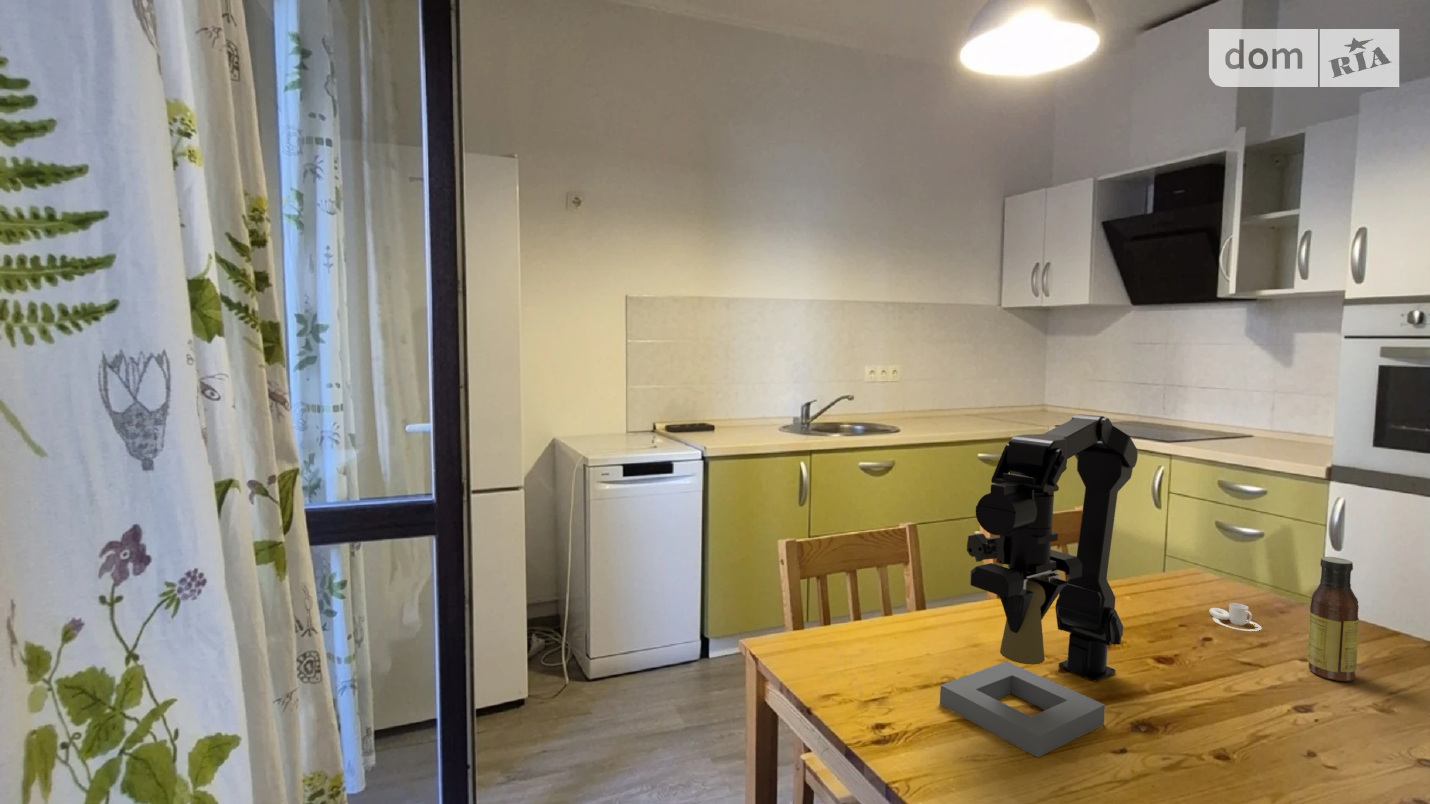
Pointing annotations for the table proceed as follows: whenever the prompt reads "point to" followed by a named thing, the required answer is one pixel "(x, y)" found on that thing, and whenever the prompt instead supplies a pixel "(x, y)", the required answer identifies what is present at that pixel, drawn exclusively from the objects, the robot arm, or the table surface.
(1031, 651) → the brown pawn
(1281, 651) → the table surface
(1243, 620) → the teacup and saucer
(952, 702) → the socket plate
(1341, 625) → the sauce bottle
